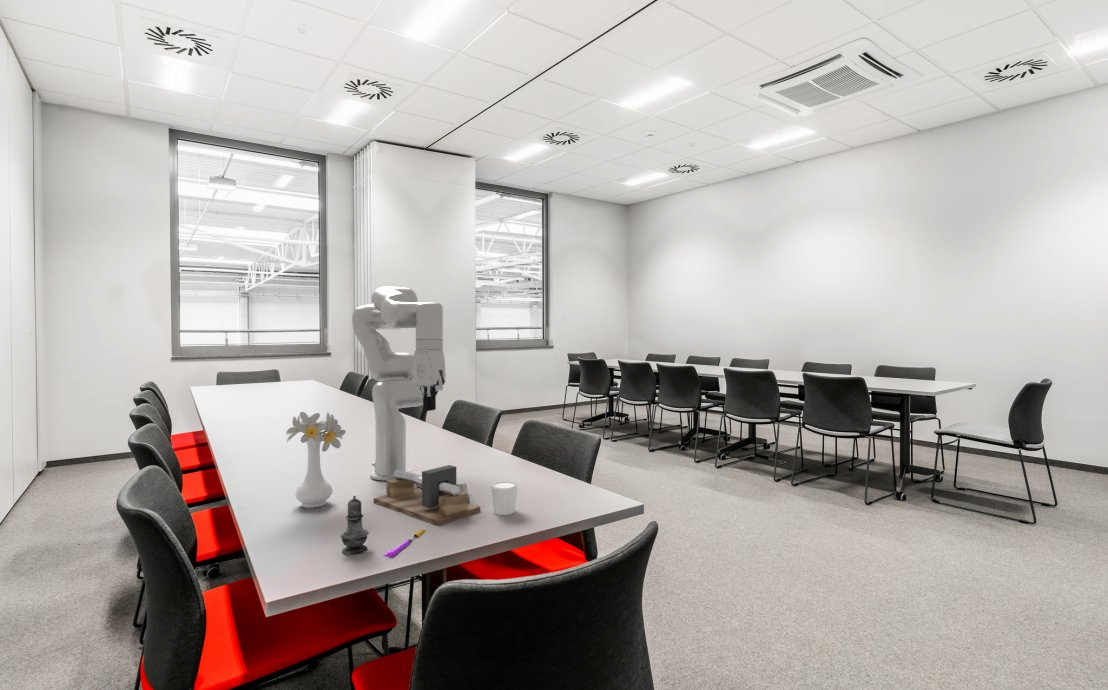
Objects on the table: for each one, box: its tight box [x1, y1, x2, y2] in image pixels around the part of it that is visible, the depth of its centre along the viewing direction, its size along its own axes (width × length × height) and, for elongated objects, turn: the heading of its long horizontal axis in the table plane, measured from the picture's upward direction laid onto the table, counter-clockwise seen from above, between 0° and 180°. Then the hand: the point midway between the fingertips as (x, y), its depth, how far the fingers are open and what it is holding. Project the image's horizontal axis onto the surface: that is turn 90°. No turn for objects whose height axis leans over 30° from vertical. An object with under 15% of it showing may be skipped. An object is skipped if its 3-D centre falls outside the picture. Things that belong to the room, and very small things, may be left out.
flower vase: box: [285, 411, 346, 509], centre depth 148 cm, size 13×18×25 cm
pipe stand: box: [373, 478, 481, 526], centre depth 147 cm, size 28×14×5 cm, turn 51°
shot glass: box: [490, 481, 518, 516], centre depth 144 cm, size 7×7×7 cm
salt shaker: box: [339, 495, 370, 556], centre depth 118 cm, size 6×6×12 cm
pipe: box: [394, 470, 461, 496], centre depth 147 cm, size 26×3×3 cm, turn 51°
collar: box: [421, 464, 457, 508], centre depth 144 cm, size 3×9×9 cm, turn 141°
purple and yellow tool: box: [383, 529, 426, 558], centre depth 122 cm, size 3×1×16 cm
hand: (429, 410), depth 155 cm, fingers closed
